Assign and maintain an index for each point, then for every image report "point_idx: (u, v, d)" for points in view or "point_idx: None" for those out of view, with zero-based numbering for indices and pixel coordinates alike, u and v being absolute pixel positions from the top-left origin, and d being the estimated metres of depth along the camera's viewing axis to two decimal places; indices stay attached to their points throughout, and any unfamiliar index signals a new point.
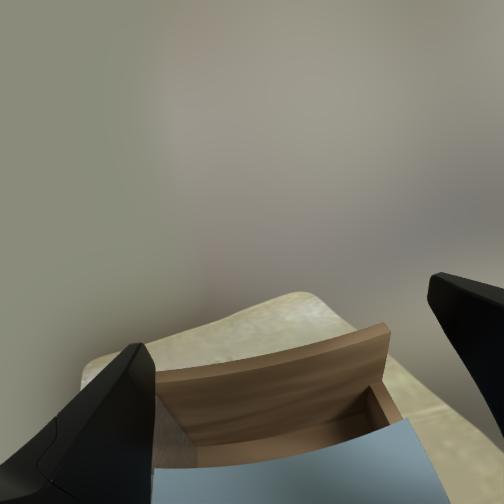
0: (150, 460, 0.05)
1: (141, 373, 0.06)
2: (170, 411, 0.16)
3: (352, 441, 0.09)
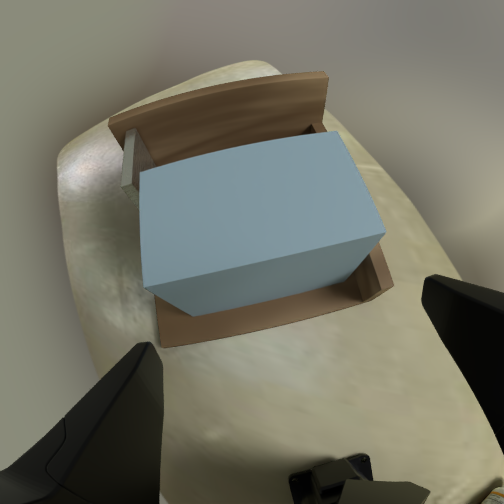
0: (159, 460, 0.05)
1: (149, 372, 0.06)
2: (145, 144, 0.20)
3: (293, 137, 0.15)
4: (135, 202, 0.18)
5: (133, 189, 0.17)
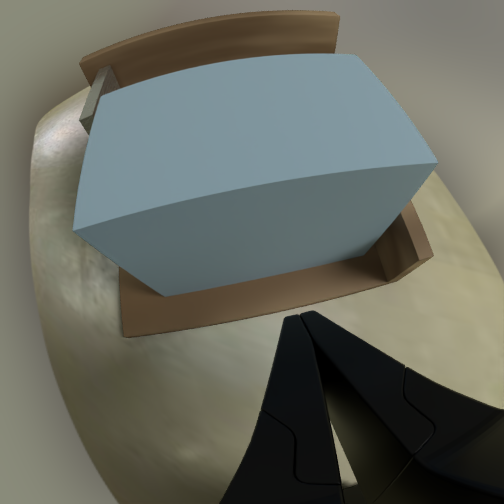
0: None
1: None
2: (121, 87, 0.15)
3: (301, 55, 0.10)
4: None
5: None
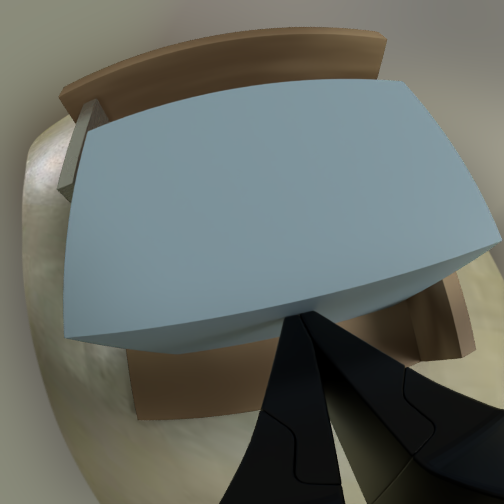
0: None
1: None
2: None
3: (341, 80, 0.08)
4: None
5: None
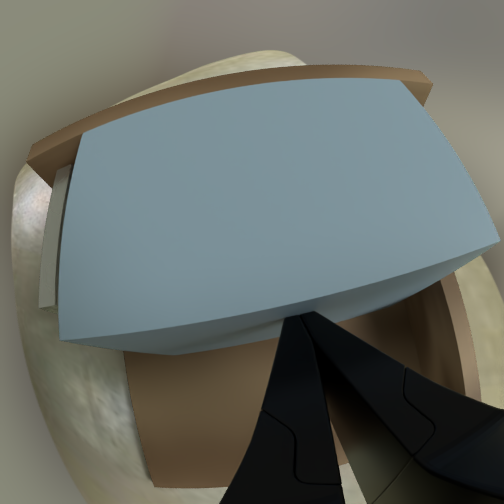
0: None
1: None
2: None
3: (337, 79, 0.08)
4: None
5: None
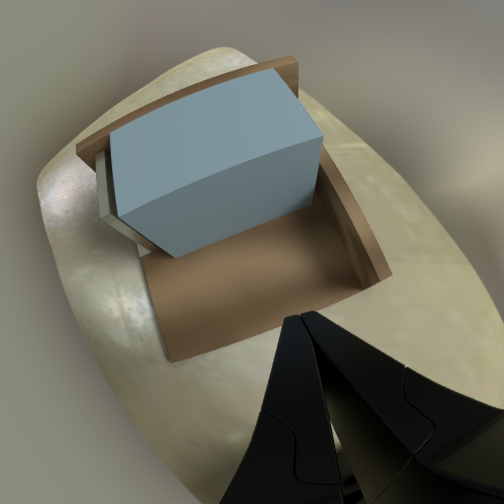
0: None
1: None
2: None
3: (234, 80, 0.16)
4: (118, 228, 0.17)
5: (113, 218, 0.16)
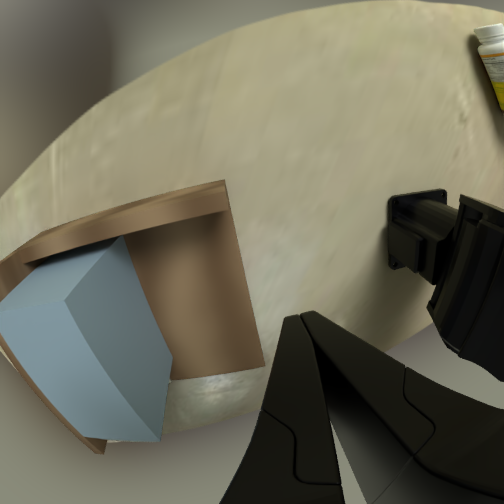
0: None
1: None
2: None
3: (13, 351, 0.11)
4: None
5: None
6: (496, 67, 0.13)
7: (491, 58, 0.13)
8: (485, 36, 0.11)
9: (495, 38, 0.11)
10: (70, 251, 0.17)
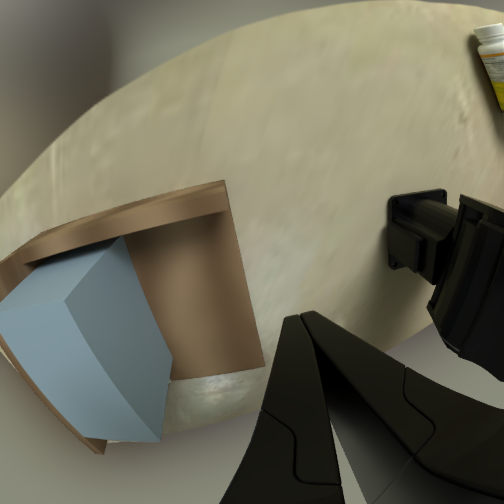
0: None
1: None
2: None
3: (13, 352, 0.11)
4: None
5: None
6: (496, 67, 0.13)
7: (491, 58, 0.13)
8: (485, 36, 0.11)
9: (495, 38, 0.11)
10: (70, 251, 0.17)
